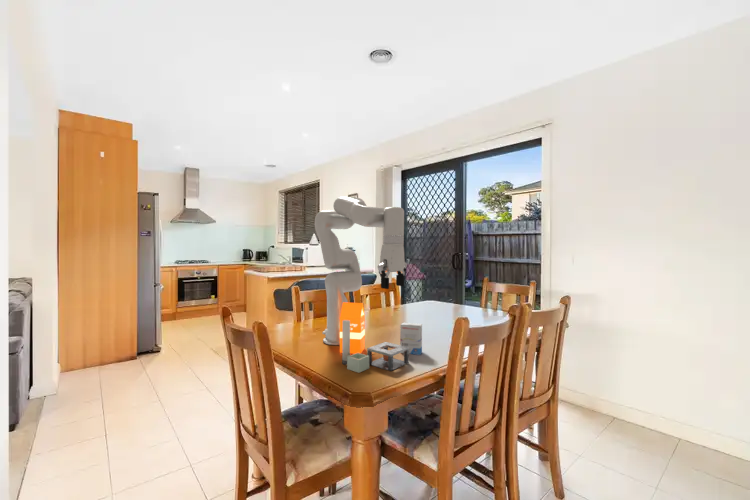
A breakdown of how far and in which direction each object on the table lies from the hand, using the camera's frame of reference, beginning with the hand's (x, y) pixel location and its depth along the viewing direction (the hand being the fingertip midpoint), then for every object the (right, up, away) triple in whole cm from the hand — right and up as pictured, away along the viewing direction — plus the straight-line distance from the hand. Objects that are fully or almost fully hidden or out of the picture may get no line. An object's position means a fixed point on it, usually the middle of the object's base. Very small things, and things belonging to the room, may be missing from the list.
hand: (392, 287), depth 131 cm
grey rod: (-17, -29, +1) cm, 33 cm away
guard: (-2, -29, +1) cm, 29 cm away
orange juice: (-16, -28, +17) cm, 36 cm away
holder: (-13, -29, -4) cm, 32 cm away
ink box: (+8, -29, +15) cm, 33 cm away
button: (-2, -27, +1) cm, 27 cm away
